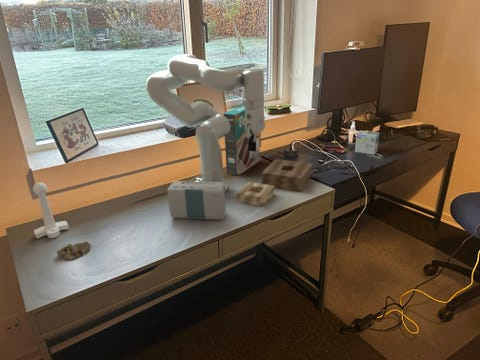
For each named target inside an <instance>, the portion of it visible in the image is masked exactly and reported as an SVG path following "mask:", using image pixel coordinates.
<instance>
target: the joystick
mask: <svg viewBox="0 0 480 360" xmlns="http://www.w3.org/2000/svg"><path fill="white" fill-rule="evenodd" d="M32 191H33V193H34V194H35V195H37V197H38V200H39V205H40V209H41V214H42V219H43V223H44V225H43V226H41V227H38V228H36V229H34V230H33V232H34V236H35V238H36V239H41V238H42V237H45V236H47V238H50V239H55V238H57V237H59V235H60V234H61V233H60V232H61V231H63V230H64V231H65V230H68V229H69V228H70V227H69V224H68V221H66V220H63V221H57V222H56V221H55V219H54V215H53V213H52V210H51V209H52V208H51V207H50V204H49V201H48V198H47V195H46V192H47V191H48V187H47V184H45V183H44V182H40V181H39V182H36V183H35V184H34V185H33V186H32Z"/></svg>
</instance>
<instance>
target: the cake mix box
mask: <svg viewBox="0 0 480 360" xmlns="http://www.w3.org/2000/svg"><path fill="white" fill-rule="evenodd" d="M245 109H246V108H244V104H243V105H241V106H238V107H236V108H233V109H230V110H228V111H226V112H224V113H222V115H224V116H225V117H226V118H227V119H228V121H229V123H230V131H229V133H228V134H227V135H225V136H224V149H225V151H224V152H225V164H226V165H225V167H226V174H227V175H231V176H235V177H237V176H240V175H241V174H242V173H244V172H246V170H249V168H251V167H252V166H254V165H255V164H257V163H258V162H260V157H258V158H251V157H250V151H249V150H248V139H247V138H246V133H245Z"/></svg>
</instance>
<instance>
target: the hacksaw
mask: <svg viewBox="0 0 480 360" xmlns="http://www.w3.org/2000/svg"><path fill="white" fill-rule="evenodd" d="M336 159H337V160H334V157H332V158H331V161H329V162H328V163H324V164H320V165H316V166H313V165H312V174H318V173H321V172H325V171H326V170H331V169H333V168H338V167H341V166H345V165H346V163H344V162H340V161H339V157H336ZM333 163H338V164H339V165H334V166H331V167H327V168H323V167H325V166H328V165H331V164H333ZM313 169H314V170H313Z"/></svg>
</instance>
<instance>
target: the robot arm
mask: <svg viewBox="0 0 480 360" xmlns="http://www.w3.org/2000/svg"><path fill="white" fill-rule="evenodd" d="M167 69H168V70H167ZM167 69H166V70H162V71H158V72H155V73H153V74H151V75H149V77H148V78H147V80H146V92H147V93H148V95H149V98H150V99H151V100H152V101H153V102H154V103H155V104H156V105H157V106H159V108H161V109H163V110H164V111H166V112H167V113H168V114H170V115H171V117H174V119H176V120H177V121H178V122H179V123H181V124H182V125H184V127H187V128H194V127H196V126H197V127H196V130H195V138H196V141H197V145H198V150H199V159H200V161H199V162H200V169H201V171H200V173H201V174H200V175H202V174H204V173H206V172H208V171H211V170H213V169H215V168H217V169H215V170H213V171H211V172H209V173H207V174H205V175H203V176H201V177H198V178H196V179H195V181H196V182H223V183H224V193H226V192H227V190H228V189H229V188H228V185H227V184H226V183H225V182H224V181H225V180H224V165H223V151H222V147H221V144H220V142H219V141H220V139H222V138H223V137H224V138H225V135H227V134H228V133H229V131H230V123H229V121H228V119H227V118H226V117H225V116H224V115H223V113H221V112H220V111H219V110H217V109H216V108H215V107H213V105H210V103H208V102H206V101H202V100H198V101H194V102H189V101H187V100H186V99H184V98H183V97H182V96H180V95H179V94H177V93H174V92H172V91H173V90H176V89H178V88H179V89H180V88H181V87H182V86H184V84H186V83H187V82H188V81H193V82H196V83H197V82H198V83H201V85H203V86H205V87H206V88H209V89H212V90H216V91H220V92H226V93H227V92H228V93H229V92H231V91H232V92H233V91H234V90H238V89H241V88H243V105H244V108H246V109H245V133H246V138H247V139H248V150H249V151H256V141H255V136H256V135H257V134H259V133H260V148H261V147H262V140H261V139H262V132H263V131H264V130H265V128H266V126H265V125H266V121H265V118H266V117H265V108H264V107H265V90H264V89H265V75H264V71H263V70H262V69H259V68H245V67H240V66H239V67H234V68H230V69H226V70H222V69H218V68H217V69H216V68H213V67H210V64H209V62H208V61H207V60H204V59H199V58H197V56H195V55H194V54H191V53H185V54H180V55H174V56H173V57H171V58H170V59H169V61H168V63H167ZM251 132H252V133H251ZM251 135H253V137H252V136H251ZM218 167H220V168H218Z"/></svg>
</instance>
